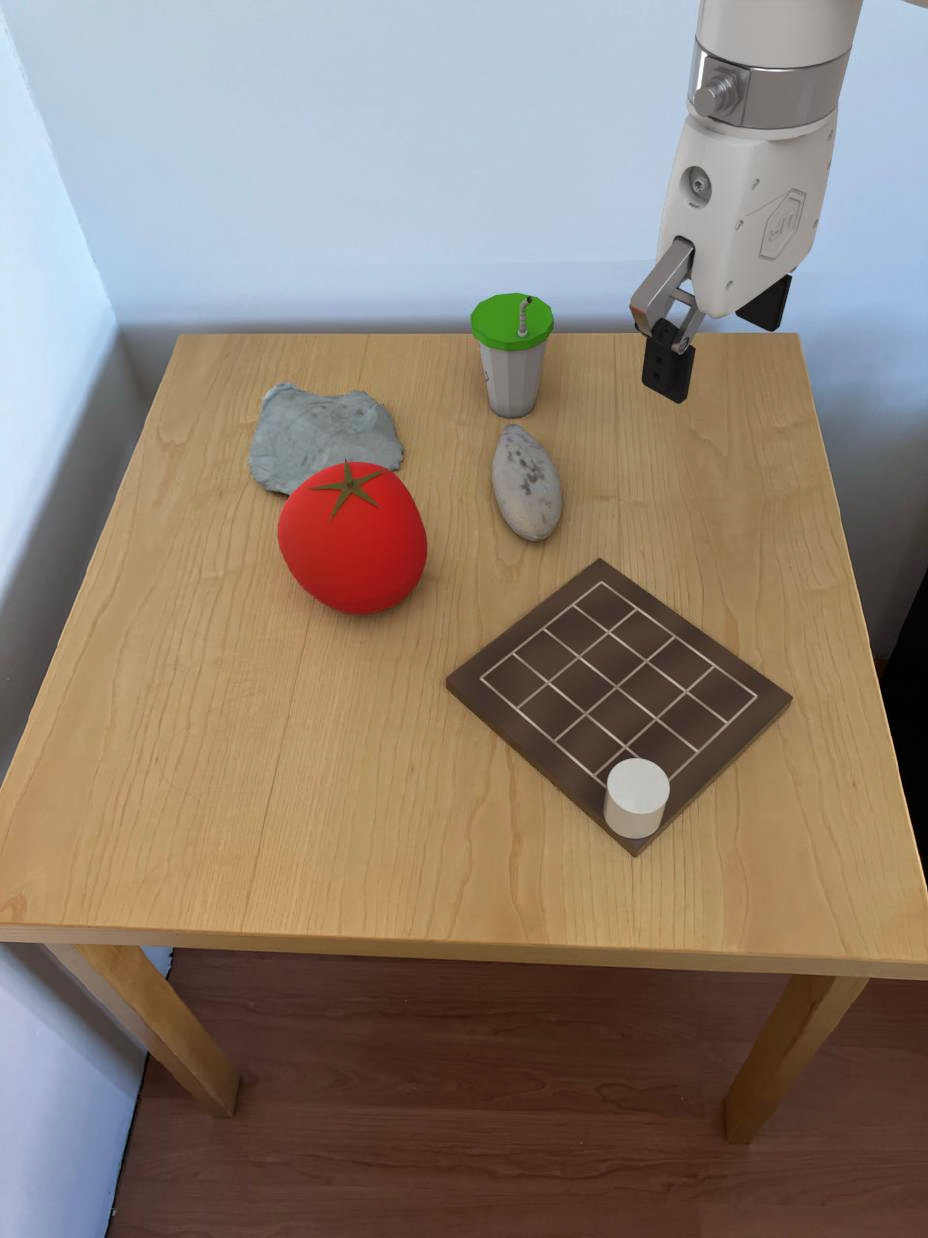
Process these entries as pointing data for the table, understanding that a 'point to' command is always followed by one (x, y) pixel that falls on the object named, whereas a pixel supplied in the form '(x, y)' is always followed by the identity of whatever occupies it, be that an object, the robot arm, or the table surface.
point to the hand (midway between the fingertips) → (711, 356)
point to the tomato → (354, 538)
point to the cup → (512, 349)
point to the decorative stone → (526, 484)
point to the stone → (318, 436)
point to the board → (617, 694)
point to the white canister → (635, 798)
